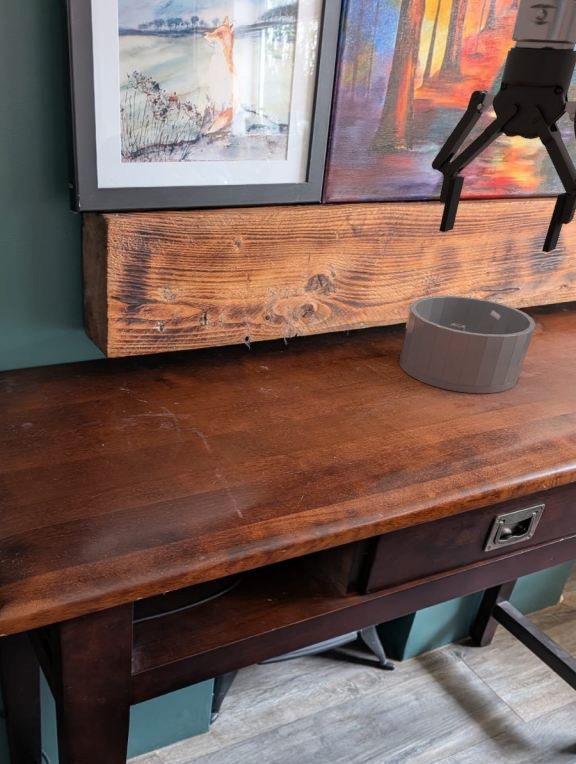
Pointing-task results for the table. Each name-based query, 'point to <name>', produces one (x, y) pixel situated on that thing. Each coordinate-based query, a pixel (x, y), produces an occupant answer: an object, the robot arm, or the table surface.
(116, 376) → the table surface
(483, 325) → the lighter
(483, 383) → the canister
